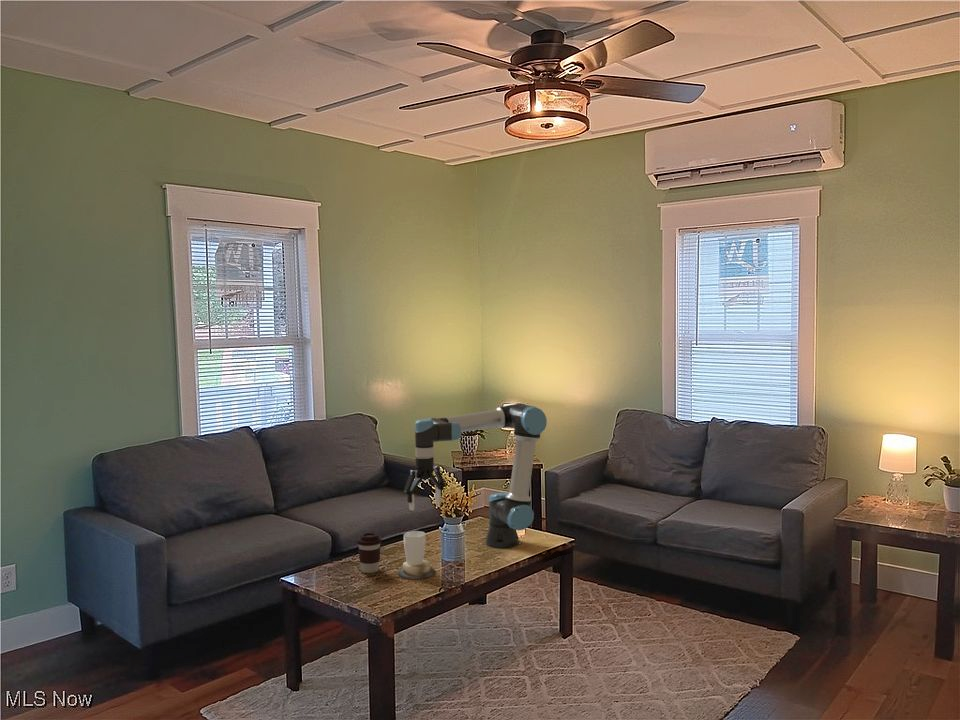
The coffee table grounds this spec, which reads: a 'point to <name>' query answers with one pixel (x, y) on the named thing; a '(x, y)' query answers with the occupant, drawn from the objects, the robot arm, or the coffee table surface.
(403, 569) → the pedestal
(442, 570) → the coffee table surface
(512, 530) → the robot arm
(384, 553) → the coffee table surface
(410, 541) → the cup
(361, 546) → the coffee cup
